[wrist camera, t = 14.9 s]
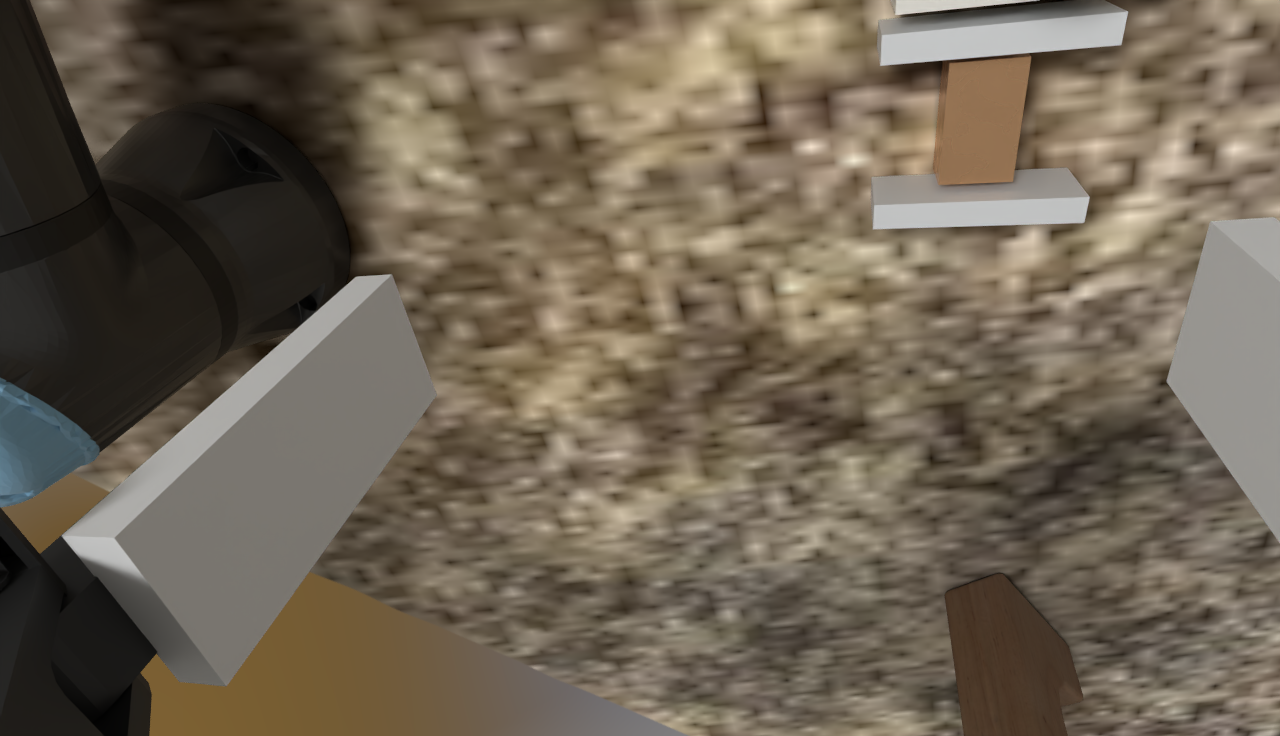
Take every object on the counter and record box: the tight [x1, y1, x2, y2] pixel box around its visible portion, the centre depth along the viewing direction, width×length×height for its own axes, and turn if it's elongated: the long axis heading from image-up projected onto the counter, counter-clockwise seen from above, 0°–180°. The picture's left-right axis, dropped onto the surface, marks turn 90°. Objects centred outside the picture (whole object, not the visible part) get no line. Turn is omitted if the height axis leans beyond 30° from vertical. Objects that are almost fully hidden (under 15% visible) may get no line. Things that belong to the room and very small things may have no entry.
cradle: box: [871, 0, 1128, 229], centre depth 33 cm, size 9×9×4 cm
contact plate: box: [933, 53, 1032, 185], centre depth 33 cm, size 3×5×2 cm, turn 8°
